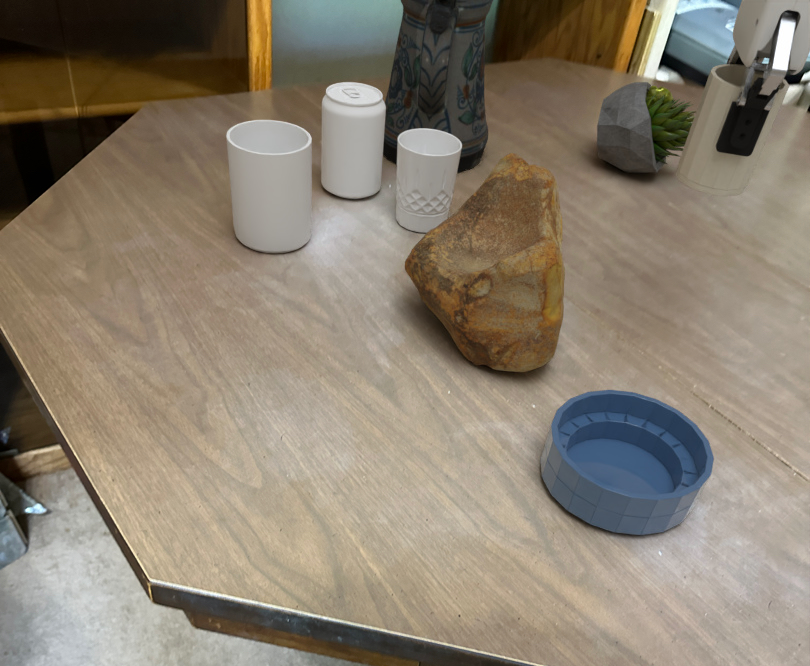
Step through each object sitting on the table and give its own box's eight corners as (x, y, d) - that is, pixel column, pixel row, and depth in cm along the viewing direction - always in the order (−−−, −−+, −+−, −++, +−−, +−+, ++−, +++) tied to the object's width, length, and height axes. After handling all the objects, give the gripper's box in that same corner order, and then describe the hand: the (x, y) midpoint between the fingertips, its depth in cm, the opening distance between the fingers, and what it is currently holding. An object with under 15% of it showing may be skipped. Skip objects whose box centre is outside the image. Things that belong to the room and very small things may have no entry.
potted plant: (610, 116, 123) (710, 110, 117) (596, 193, 122) (695, 192, 116) (599, 64, 111) (709, 55, 105) (583, 149, 111) (692, 145, 105)
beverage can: (333, 205, 102) (335, 107, 93) (312, 178, 106) (312, 82, 97) (389, 198, 104) (396, 103, 95) (367, 172, 109) (371, 78, 100)
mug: (226, 250, 92) (217, 148, 83) (247, 204, 100) (241, 107, 91) (305, 260, 92) (304, 159, 83) (320, 213, 100) (320, 117, 91)
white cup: (412, 240, 97) (420, 159, 90) (380, 212, 101) (385, 133, 94) (462, 229, 100) (474, 149, 93) (429, 202, 105) (438, 124, 97)
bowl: (677, 438, 76) (696, 398, 72) (706, 547, 67) (729, 507, 63) (535, 423, 76) (546, 382, 72) (544, 530, 66) (558, 489, 62)
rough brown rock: (408, 265, 95) (408, 139, 83) (543, 269, 94) (563, 142, 83) (399, 387, 80) (398, 254, 68) (559, 392, 79) (586, 259, 68)
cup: (737, 169, 77) (778, 69, 70) (752, 200, 73) (797, 96, 66) (670, 161, 77) (705, 60, 70) (681, 191, 73) (719, 86, 66)
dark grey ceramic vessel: (458, 125, 123) (485, -70, 104) (511, 180, 112) (551, -29, 93) (360, 131, 118) (369, -73, 99) (404, 188, 107) (424, -30, 88)
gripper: (901, -79, 53) (782, 182, 66) (847, -121, 64) (755, 109, 77) (791, -95, 53) (695, 168, 66) (757, -134, 64) (680, 97, 78)
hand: (728, 134), depth 72 cm, fingers closed on cup, 7 cm apart
